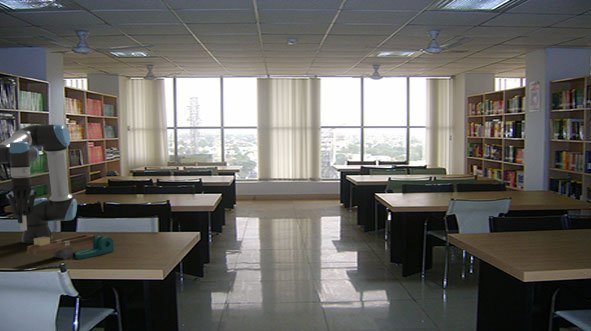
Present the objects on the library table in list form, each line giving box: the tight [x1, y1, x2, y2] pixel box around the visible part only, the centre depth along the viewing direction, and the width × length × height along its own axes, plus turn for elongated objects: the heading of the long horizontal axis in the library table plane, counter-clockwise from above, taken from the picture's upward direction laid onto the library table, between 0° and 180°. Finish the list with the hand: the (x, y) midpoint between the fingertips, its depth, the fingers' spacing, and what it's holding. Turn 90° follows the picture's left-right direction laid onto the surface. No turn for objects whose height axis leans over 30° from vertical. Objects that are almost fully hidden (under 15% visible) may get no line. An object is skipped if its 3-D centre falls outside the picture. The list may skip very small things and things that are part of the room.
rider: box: [33, 236, 51, 247], centre depth 224 cm, size 4×5×5 cm
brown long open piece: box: [26, 233, 96, 260], centre depth 233 cm, size 9×30×8 cm, turn 149°
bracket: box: [74, 235, 115, 260], centre depth 237 cm, size 18×7×8 cm, turn 147°
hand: (23, 230), depth 216 cm, fingers closed
